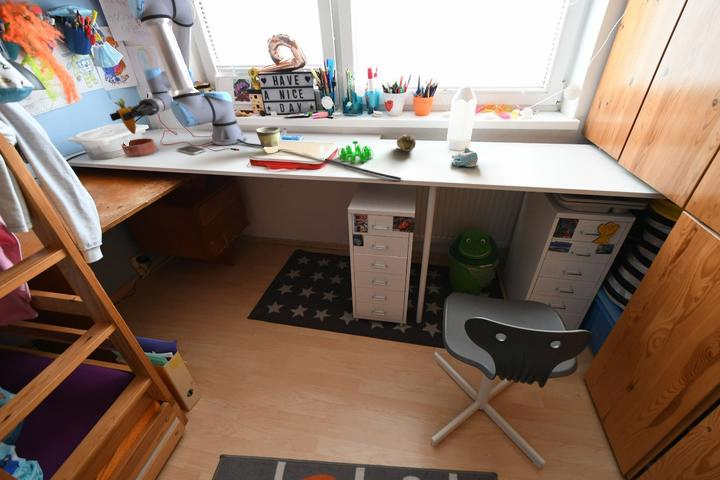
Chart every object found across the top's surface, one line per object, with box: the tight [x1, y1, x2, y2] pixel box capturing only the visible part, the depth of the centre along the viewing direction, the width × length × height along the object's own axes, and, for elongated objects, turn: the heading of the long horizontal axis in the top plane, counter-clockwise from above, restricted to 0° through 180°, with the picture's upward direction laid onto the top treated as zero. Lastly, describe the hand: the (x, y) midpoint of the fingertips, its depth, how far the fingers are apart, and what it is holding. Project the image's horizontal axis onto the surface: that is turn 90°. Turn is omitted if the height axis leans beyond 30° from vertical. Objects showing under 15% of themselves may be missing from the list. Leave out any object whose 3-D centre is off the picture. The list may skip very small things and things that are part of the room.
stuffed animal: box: [450, 146, 479, 168], centre depth 124 cm, size 11×7×12 cm
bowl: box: [120, 137, 158, 158], centre depth 151 cm, size 13×13×5 cm
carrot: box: [114, 98, 137, 135], centre depth 144 cm, size 5×5×15 cm
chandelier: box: [337, 140, 374, 164], centre depth 134 cm, size 15×15×7 cm
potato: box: [396, 134, 417, 152], centre depth 139 cm, size 8×13×8 cm, turn 172°
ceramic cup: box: [255, 126, 281, 149], centre depth 146 cm, size 13×10×10 cm
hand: (117, 117), depth 139 cm, fingers closed on carrot, 5 cm apart
